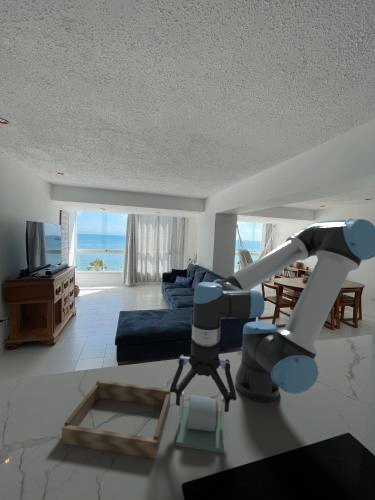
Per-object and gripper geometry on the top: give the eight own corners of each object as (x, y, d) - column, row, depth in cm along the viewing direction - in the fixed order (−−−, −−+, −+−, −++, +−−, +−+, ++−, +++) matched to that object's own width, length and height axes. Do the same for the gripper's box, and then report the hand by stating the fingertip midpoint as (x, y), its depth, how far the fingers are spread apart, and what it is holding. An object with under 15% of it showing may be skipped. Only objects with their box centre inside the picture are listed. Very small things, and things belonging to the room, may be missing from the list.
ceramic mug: (218, 439, 56) (219, 410, 56) (186, 436, 57) (187, 407, 56) (215, 408, 67) (216, 383, 66) (188, 406, 67) (189, 381, 67)
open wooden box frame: (170, 404, 68) (170, 389, 68) (156, 458, 51) (156, 438, 51) (97, 395, 71) (97, 380, 71) (61, 443, 54) (62, 423, 54)
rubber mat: (221, 414, 66) (222, 411, 66) (223, 453, 54) (224, 449, 54) (182, 409, 67) (182, 406, 67) (175, 445, 55) (175, 441, 55)
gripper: (160, 342, 57) (156, 424, 58) (251, 351, 54) (246, 437, 55) (166, 330, 64) (163, 403, 65) (246, 338, 62) (242, 413, 63)
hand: (201, 418), depth 60 cm, fingers open, 10 cm apart
